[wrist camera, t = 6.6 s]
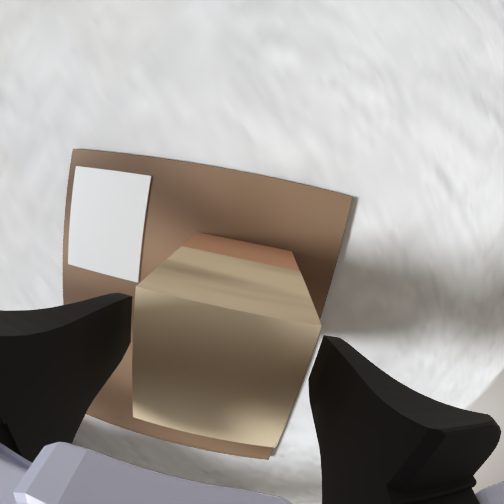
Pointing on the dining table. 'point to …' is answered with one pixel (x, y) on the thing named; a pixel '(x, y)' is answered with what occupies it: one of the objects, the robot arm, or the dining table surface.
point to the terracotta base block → (242, 250)
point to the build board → (174, 236)
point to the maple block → (221, 346)
